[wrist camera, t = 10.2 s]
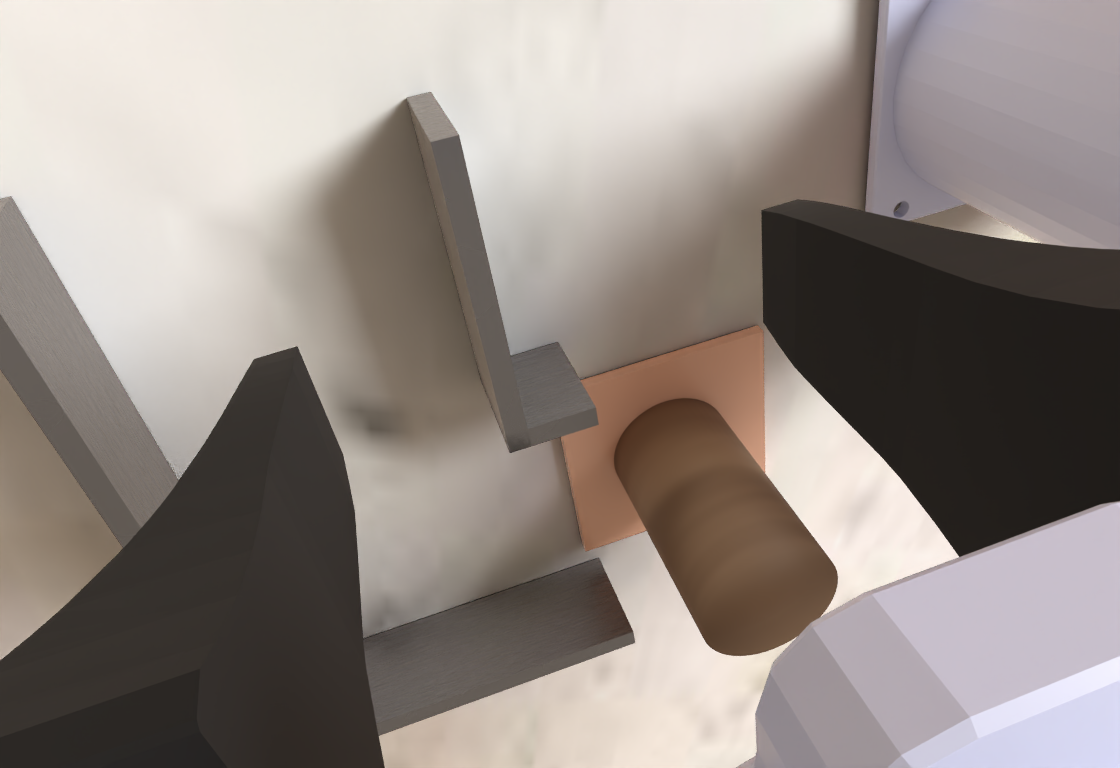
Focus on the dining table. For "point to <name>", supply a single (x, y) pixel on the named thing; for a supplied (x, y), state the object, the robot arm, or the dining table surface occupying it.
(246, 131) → the dining table surface
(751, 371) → the coaster
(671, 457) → the walnut peg
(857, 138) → the dining table surface
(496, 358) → the rail channel
